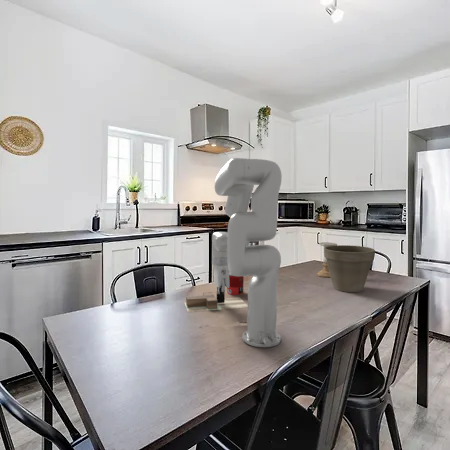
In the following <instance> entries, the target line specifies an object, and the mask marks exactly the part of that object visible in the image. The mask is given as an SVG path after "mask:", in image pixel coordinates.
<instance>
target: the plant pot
mask: <svg viewBox="0 0 450 450" xmlns="http://www.w3.org/2000/svg"><path fill="white" fill-rule="evenodd" d="M375 255H376V249H374V248H372V247H369V246H361V245H350V244H349V245H347V244H346V245H343V244H342V245H340V244H339V245H338V244H337V245H335V246H327V247H324V246H323V258H324V257H325V258H326V260H327V265H328V269H329V272H330V276H331V278H330V280H331V283H332V286H333V289H334V290H337V291H340V292H343V291H344V292H345V293H360V292H362V291H363V290H364V289H365V285H366V282H367V279H368V275H369V273H370V269H371V266H372V262H373V261H374V260H375Z"/></svg>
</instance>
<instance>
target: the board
mask: <svg viewBox="0 0 450 450" xmlns="http://www.w3.org/2000/svg"><path fill="white" fill-rule="evenodd" d="M183 303H184V305H185V304H186V300H184V301H183ZM218 305H219V306H220V308H221V309H222V310H233V309H245V308H247V309H248V303H246V302H245V301H244V300H243V299H242V298H241V297H227V298H225V302H224V303H218ZM186 311H187V313H194V312H207V309H206V307H204V308H190V309H186Z"/></svg>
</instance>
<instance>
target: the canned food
mask: <svg viewBox="0 0 450 450" xmlns="http://www.w3.org/2000/svg"><path fill="white" fill-rule="evenodd" d="M244 277H245V276H234V275H232V274H231V273H230V271H229V288H227V287H226V290H227V294H228V295H230V296H231V295H232V296H241V295H243V294H244V279H245V278H244Z"/></svg>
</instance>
